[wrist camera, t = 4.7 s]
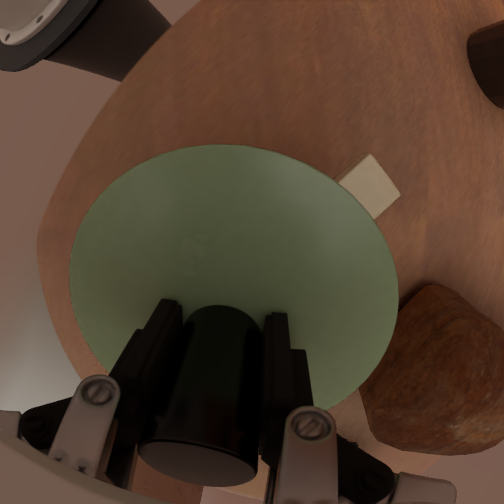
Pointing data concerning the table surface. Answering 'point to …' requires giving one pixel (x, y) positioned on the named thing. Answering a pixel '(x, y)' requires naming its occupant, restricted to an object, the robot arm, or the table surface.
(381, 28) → the table surface
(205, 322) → the lid
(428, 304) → the bread
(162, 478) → the travel mug
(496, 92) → the cup
